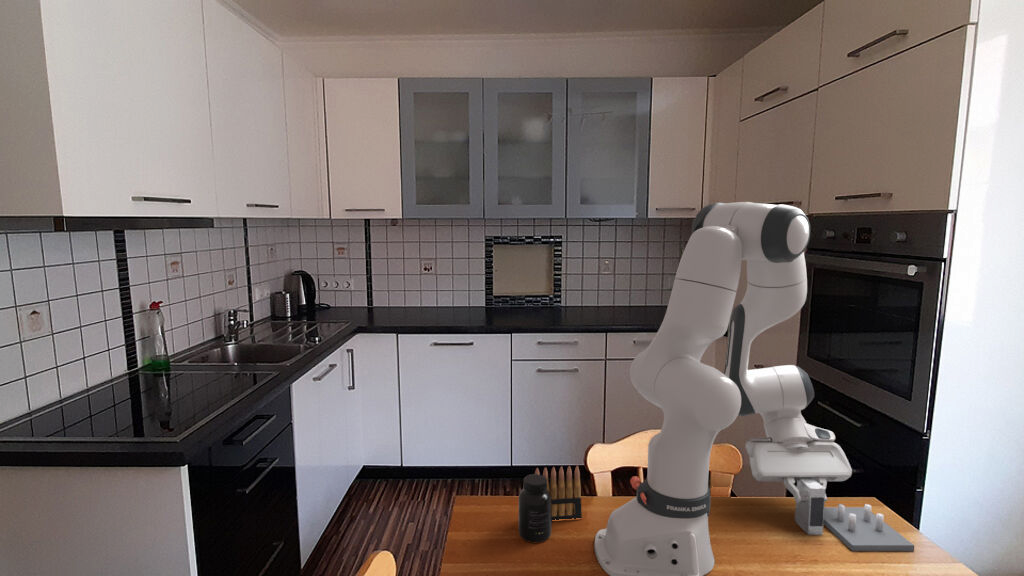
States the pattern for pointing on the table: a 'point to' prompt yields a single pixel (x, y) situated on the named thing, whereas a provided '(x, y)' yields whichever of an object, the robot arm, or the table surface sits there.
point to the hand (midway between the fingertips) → (811, 501)
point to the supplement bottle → (535, 509)
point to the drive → (810, 506)
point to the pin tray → (864, 529)
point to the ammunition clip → (564, 494)
